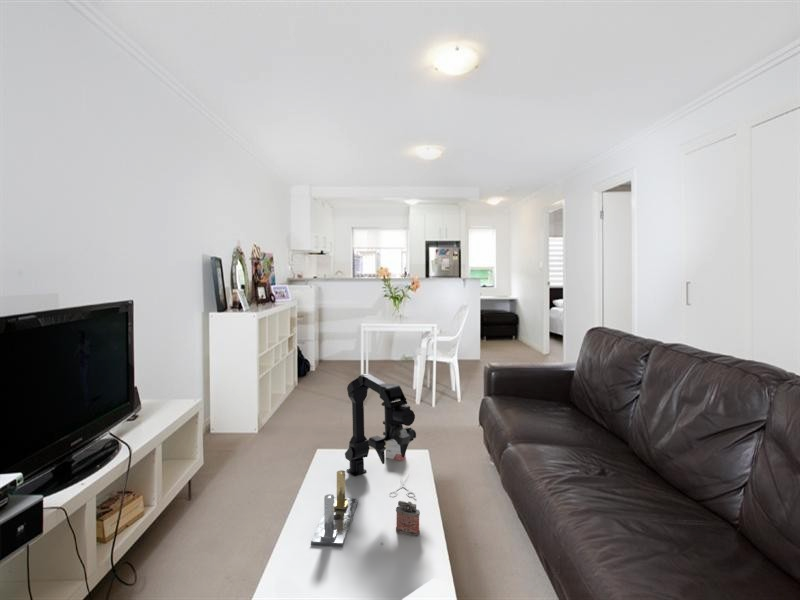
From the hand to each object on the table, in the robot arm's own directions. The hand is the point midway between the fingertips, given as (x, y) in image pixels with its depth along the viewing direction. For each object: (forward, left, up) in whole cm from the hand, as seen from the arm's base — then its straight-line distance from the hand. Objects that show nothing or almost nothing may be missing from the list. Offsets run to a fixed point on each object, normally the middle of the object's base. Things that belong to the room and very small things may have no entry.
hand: (393, 460), depth 146 cm
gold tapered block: (-6, -19, -13) cm, 24 cm away
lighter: (+18, -8, -15) cm, 25 cm away
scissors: (-5, +10, -16) cm, 19 cm away
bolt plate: (-2, -23, -15) cm, 28 cm away
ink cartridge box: (-27, +24, -15) cm, 39 cm away
